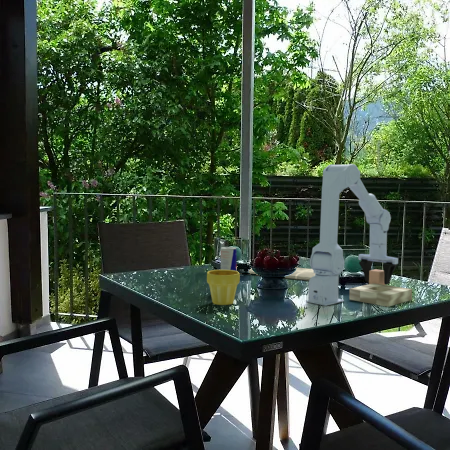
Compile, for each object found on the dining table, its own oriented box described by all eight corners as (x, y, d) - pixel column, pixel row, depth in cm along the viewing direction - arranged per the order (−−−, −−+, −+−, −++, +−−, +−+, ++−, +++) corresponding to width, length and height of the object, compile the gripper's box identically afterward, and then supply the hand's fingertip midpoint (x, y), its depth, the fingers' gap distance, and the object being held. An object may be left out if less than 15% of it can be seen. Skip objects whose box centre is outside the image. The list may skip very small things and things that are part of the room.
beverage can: (235, 291, 193) (235, 248, 192) (219, 291, 194) (219, 248, 193) (237, 288, 198) (237, 246, 197) (222, 288, 200) (222, 246, 198)
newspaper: (232, 274, 232) (232, 267, 231) (256, 267, 248) (256, 261, 248) (314, 283, 211) (314, 275, 211) (334, 275, 227) (334, 268, 227)
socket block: (387, 306, 170) (388, 295, 169) (349, 299, 180) (349, 288, 180) (411, 299, 179) (412, 289, 179) (374, 293, 189) (374, 283, 189)
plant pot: (245, 304, 174) (245, 273, 173) (216, 308, 169) (216, 276, 168) (230, 298, 183) (229, 268, 182) (201, 301, 178) (201, 271, 177)
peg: (378, 292, 191) (379, 272, 191) (368, 290, 194) (369, 270, 194) (385, 290, 194) (385, 270, 194) (375, 289, 197) (375, 269, 196)
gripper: (403, 244, 190) (402, 283, 191) (366, 240, 201) (366, 278, 202) (391, 246, 185) (391, 286, 187) (355, 242, 196) (354, 280, 197)
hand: (377, 282), depth 194 cm, fingers open, 7 cm apart
